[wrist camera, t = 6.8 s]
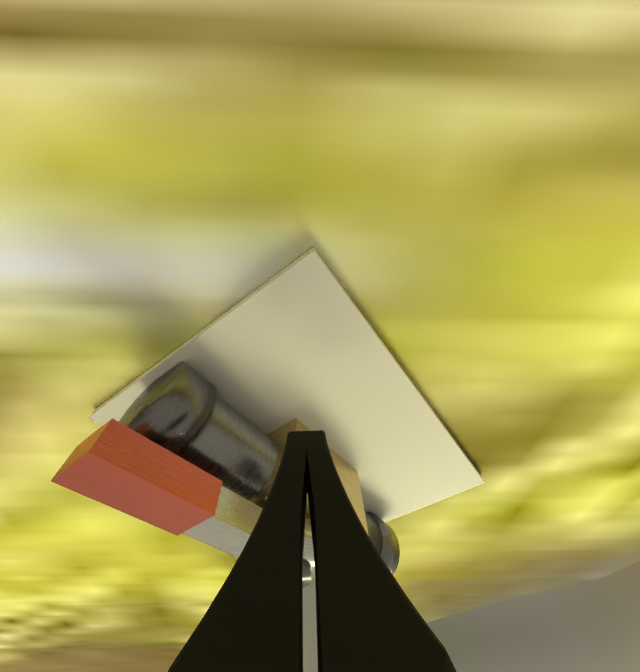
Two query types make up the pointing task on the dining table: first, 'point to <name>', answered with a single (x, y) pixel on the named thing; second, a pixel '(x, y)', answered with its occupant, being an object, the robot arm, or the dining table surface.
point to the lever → (164, 491)
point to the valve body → (234, 445)
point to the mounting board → (323, 387)
